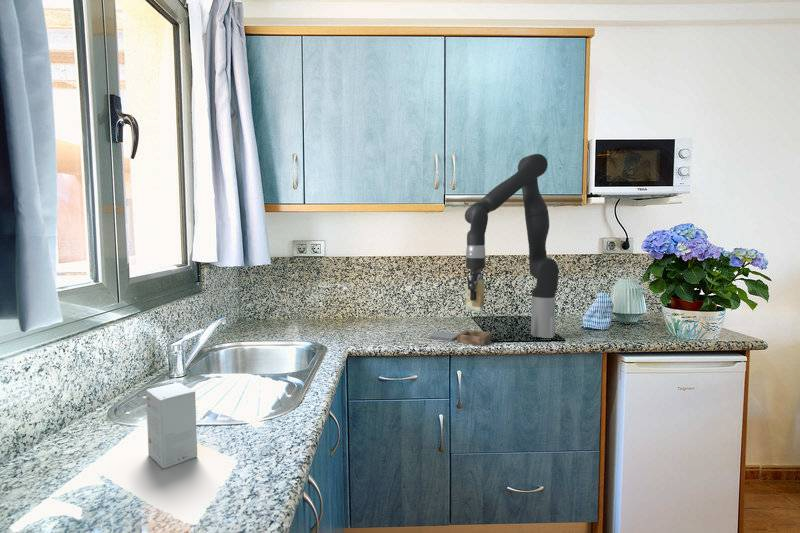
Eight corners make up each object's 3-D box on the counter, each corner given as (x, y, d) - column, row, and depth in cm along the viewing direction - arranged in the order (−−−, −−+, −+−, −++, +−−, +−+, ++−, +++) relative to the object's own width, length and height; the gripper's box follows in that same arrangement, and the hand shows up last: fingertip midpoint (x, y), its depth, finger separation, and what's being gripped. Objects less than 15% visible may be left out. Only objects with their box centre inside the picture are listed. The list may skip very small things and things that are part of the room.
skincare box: (465, 310, 174) (465, 279, 173) (469, 308, 177) (469, 278, 176) (481, 311, 171) (481, 280, 170) (484, 309, 174) (484, 279, 174)
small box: (198, 457, 84) (196, 391, 83) (162, 470, 79) (159, 400, 78) (181, 443, 89) (179, 381, 88) (147, 454, 85) (144, 389, 84)
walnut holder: (491, 339, 177) (491, 332, 177) (483, 345, 168) (483, 338, 167) (465, 336, 182) (466, 329, 182) (456, 342, 173) (457, 335, 172)
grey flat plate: (460, 335, 184) (460, 333, 184) (452, 341, 175) (452, 338, 175) (438, 333, 189) (438, 331, 189) (429, 338, 180) (429, 335, 180)
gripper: (479, 257, 164) (478, 302, 166) (490, 256, 177) (489, 297, 178) (460, 257, 168) (460, 301, 169) (472, 255, 181) (471, 296, 182)
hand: (475, 299), depth 174 cm, fingers closed on skincare box, 4 cm apart
